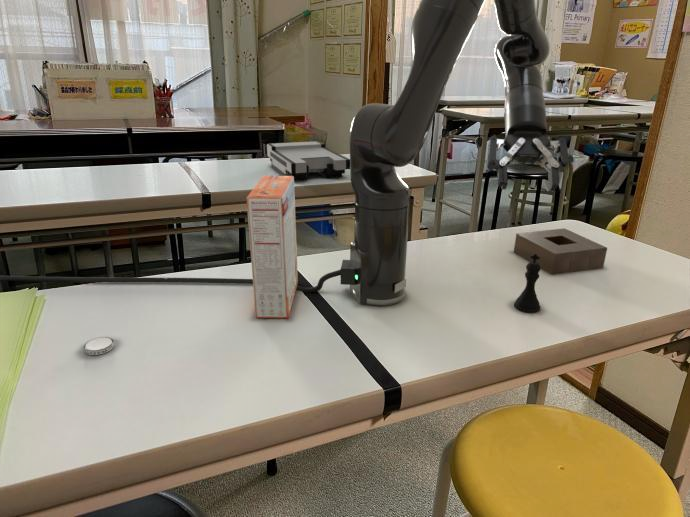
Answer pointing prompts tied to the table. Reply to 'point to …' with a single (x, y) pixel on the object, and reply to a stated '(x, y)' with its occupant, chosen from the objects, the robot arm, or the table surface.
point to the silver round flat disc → (98, 346)
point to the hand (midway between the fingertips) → (528, 188)
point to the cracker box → (273, 245)
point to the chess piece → (529, 289)
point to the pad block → (560, 250)
